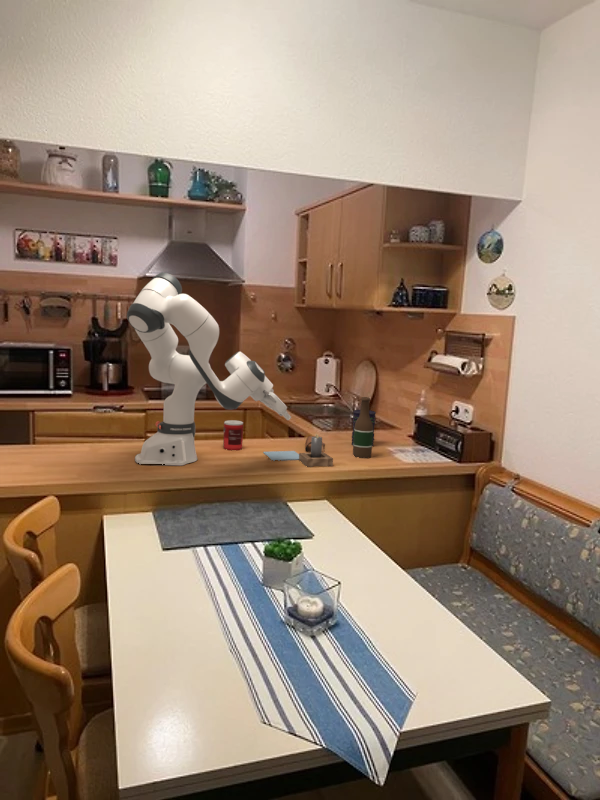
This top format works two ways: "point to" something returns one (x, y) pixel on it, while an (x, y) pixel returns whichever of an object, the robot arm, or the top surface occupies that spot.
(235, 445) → the canned food
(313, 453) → the plug
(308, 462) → the socket
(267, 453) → the mat
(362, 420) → the beer bottle
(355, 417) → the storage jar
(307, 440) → the sunglasses case
